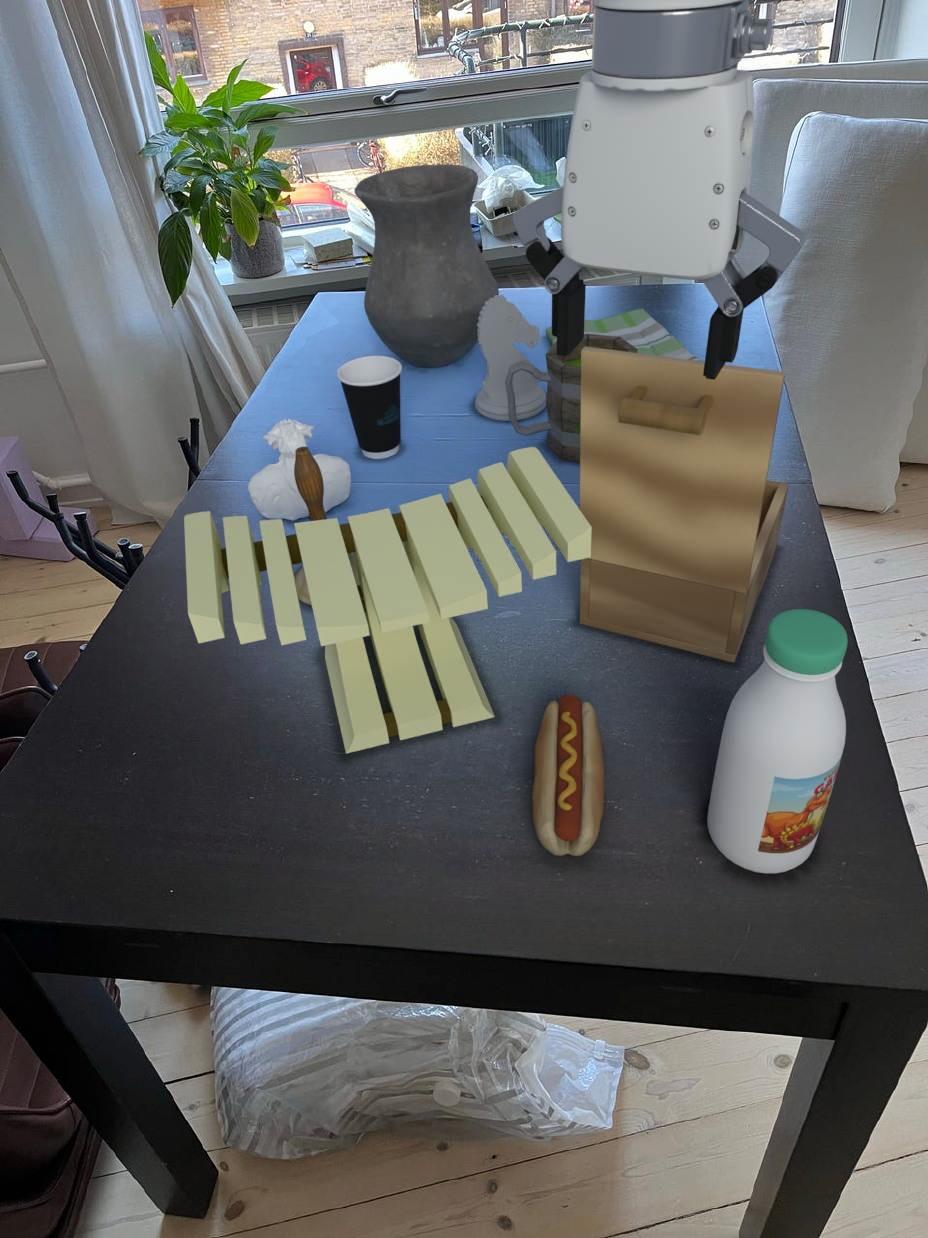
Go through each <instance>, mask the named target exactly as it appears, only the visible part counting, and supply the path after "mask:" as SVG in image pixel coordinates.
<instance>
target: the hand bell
mask: <svg viewBox="0 0 928 1238" xmlns="http://www.w3.org/2000/svg"><path fill="white" fill-rule="evenodd" d="M295 453H296V458H295V466H294V476H295V481H296V485H297V488H298V491H299V493H300V495H301V497H302V499H303V500H304V502H305V504H306V505H307V508H308V511H309V516H308V517H309V521H317V520H325V519H328V518H327V515H326V513H325V511H324V507H323V495H324V485H323V478H322V474H321V470H320V468H319V466H318V464H317V462H316V460H315V459H314V457H313V454H312V452H311V450H310V449H309V447H308V446H307V447H299V448H297V449H296V451H295ZM348 558H349V561H350V565H351V568H352V571H353V575H354V578H355V582H356V585H357V586H358V585H360V584H359V579H358V573H357V568H356V562H355V557H354V554H353V553H348ZM295 578H296V583H297V594H298V599H299V602H302V603H303V604H305V605H306V606H307V605H308V606H310V607H312V603H311V599H310V594H309V590H308V585H307V580H306V576H305V571H304V567H303V566H302V567H301V569H300V570H299V571H298V572H297V573H296V574H295Z"/></svg>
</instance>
